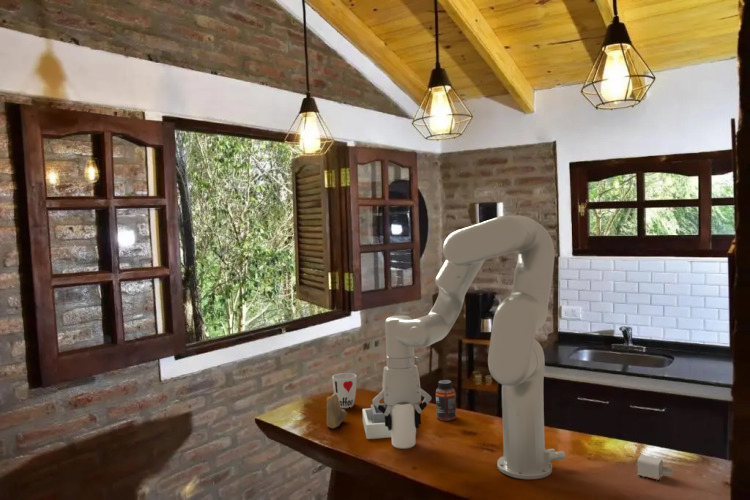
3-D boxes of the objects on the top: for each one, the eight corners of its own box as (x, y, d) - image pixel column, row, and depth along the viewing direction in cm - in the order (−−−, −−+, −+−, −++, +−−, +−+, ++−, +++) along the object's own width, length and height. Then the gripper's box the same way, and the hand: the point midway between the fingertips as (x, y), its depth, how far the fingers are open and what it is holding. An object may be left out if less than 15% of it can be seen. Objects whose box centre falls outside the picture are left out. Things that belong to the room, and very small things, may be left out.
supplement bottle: (459, 416, 167) (458, 380, 167) (451, 422, 162) (450, 385, 162) (441, 413, 171) (440, 378, 170) (433, 419, 166) (432, 382, 165)
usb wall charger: (642, 470, 126) (641, 453, 126) (675, 478, 122) (675, 460, 122) (637, 477, 123) (637, 459, 123) (671, 485, 119) (671, 467, 119)
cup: (330, 409, 179) (329, 379, 179) (336, 401, 187) (335, 372, 187) (355, 409, 178) (353, 379, 177) (359, 402, 186) (358, 373, 185)
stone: (334, 431, 159) (333, 397, 159) (320, 429, 161) (319, 396, 161) (348, 421, 167) (347, 389, 167) (335, 419, 169) (333, 387, 169)
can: (414, 450, 143) (412, 404, 143) (389, 449, 144) (388, 404, 144) (417, 440, 149) (415, 397, 149) (393, 439, 151) (392, 396, 150)
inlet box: (408, 418, 167) (407, 399, 167) (416, 435, 153) (415, 414, 153) (362, 421, 166) (362, 402, 166) (366, 439, 152) (365, 417, 152)
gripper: (429, 357, 151) (431, 420, 151) (367, 360, 149) (369, 425, 150) (435, 363, 143) (437, 430, 144) (369, 367, 142) (372, 435, 142)
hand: (402, 427), depth 147 cm, fingers open, 6 cm apart
